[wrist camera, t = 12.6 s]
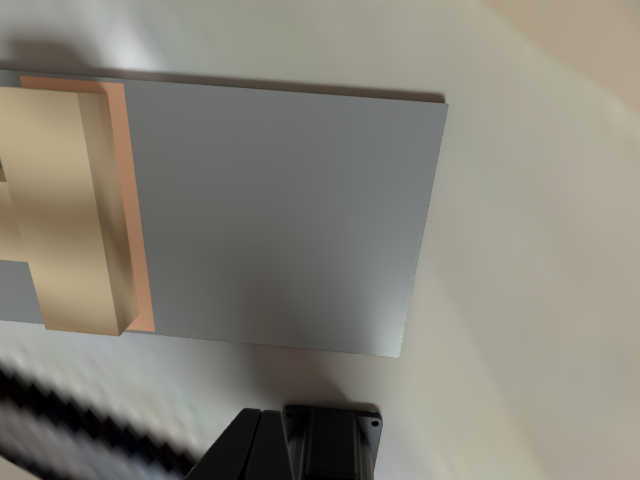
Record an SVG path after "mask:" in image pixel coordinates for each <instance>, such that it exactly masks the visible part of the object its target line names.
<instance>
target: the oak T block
mask: <svg viewBox="0 0 640 480" xmlns="http://www.w3.org/2000/svg"><path fill="white" fill-rule="evenodd" d="M0 159H1V163H2V167H3V170H0V260H10V261H20V262H28V264H29V268H30V272H31V275H32V279H33V283H34V287H35V290H36V294H37V298H38V302H39V305H40V309H41V313H42V317H43V320H44V324H45V328H46V329H48V330H58V331H68V332H79V333H89V334H100V335H110V336H120V335H121V334H122V333H123V332H124V331H125V330H126V329H127V328H128V326H129V325H130V324H131V323H132V322H133V321H134V320H135V319H136V318H137V317H138V316H139V310H138V303H137V296H136V289H135V282H134V275H133V268H132V261H131V254H130V247H129V240H128V233H127V226H126V219H125V212H124V205H123V198H122V191H121V184H120V177H119V170H118V163H117V156H116V149H115V142H114V135H113V128H112V121H111V115H110V108H109V101H108V94H102V93H90V92H78V91H65V90H53V89H40V88H28V87H9V86H0Z"/></svg>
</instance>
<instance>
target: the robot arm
mask: <svg viewBox="0 0 640 480" xmlns="http://www.w3.org/2000/svg"><path fill="white" fill-rule="evenodd" d="M289 412H290V413H289ZM382 426H383V421H382V416H381V415H380V414H378V413H372V412H362V411H351V410H341V409H331V408H321V407H310V406H300V405H286V406H285V407H284V409H283V413H282V414H281V412H280V411H275V410H264V411H263V412H262V411H261V410H260V409H252V408H244V409H243V410H241V412H240V413H239V414H238V415H237V416H236V417H235V419H234V420H233V421H232V422H231V423H230V425H229V426H228V427H227V428H226V429H225V430H224V432H223V433H222V434H221V435H220V436H219V438H218V439H217V440H216V441H215V442H214V444H213V445H212V446H211V447H210V448H209V449H208V451H207V452H206V453H205V454H204V455H203V457H202V458H201V459H200V460H199V461H198V463H197V464H196V465H195V466H194V467H193V468H192V470H191V471H190V472H189V473H188V474H187V476H186V477H185V478H184V479H183V480H374V468H375V463H376V457H377V452H378V447H379V442H380V437H381V431H382Z"/></svg>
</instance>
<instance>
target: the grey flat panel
mask: <svg viewBox="0 0 640 480" xmlns="http://www.w3.org/2000/svg"><path fill="white" fill-rule="evenodd" d="M0 86H9V87H28V88H40V89H53V90H65V91H78V92H90V93H102V94H108V101H109V108H110V115H111V121H112V128H113V135H114V142H115V149H116V156H117V163H118V170H119V177H120V184H121V191H122V198H123V205H124V212H125V219H126V226H127V233H128V240H129V247H130V254H131V261H132V268H133V275H134V282H135V289H136V296H137V303H138V310H139V316H138V317H137V318H136V319H135V320H134V321H133V322H132V323H131V324H130V325H129V326H128V328H127V329H126V330H125V331H124V332H132V333H143V334H154V335H164V336H175V337H186V338H196V339H207V340H218V341H228V342H239V343H249V344H260V345H271V346H281V347H292V348H303V349H313V350H324V351H335V352H345V353H356V354H367V355H377V356H388V357H399V355H400V350H401V345H402V340H403V334H404V329H405V324H406V319H407V314H408V309H409V304H410V299H411V294H412V288H413V283H414V278H415V273H416V268H417V263H418V258H419V253H420V248H421V242H422V237H423V232H424V227H425V222H426V217H427V212H428V207H429V202H430V197H431V191H432V186H433V181H434V176H435V171H436V166H437V161H438V156H439V151H440V145H441V140H442V135H443V130H444V125H445V120H446V115H447V110H448V105H449V104H445V103H432V102H419V101H406V100H393V99H380V98H367V97H354V96H341V95H328V94H315V93H302V92H289V91H276V90H262V89H249V88H236V87H223V86H210V85H197V84H184V83H171V82H158V81H145V80H132V79H119V78H106V77H93V76H80V75H67V74H54V73H41V72H28V71H15V70H2V69H0ZM0 170H3V167H2V163H1V159H0ZM0 320H5V321H15V322H26V323H37V324H44V320H43V317H42V313H41V309H40V305H39V302H38V298H37V294H36V290H35V287H34V283H33V279H32V275H31V272H30V268H29V264H28V262H20V261H10V260H0Z"/></svg>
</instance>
